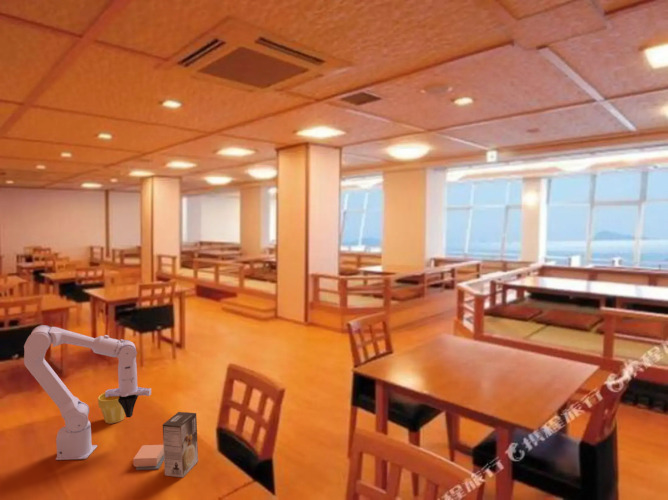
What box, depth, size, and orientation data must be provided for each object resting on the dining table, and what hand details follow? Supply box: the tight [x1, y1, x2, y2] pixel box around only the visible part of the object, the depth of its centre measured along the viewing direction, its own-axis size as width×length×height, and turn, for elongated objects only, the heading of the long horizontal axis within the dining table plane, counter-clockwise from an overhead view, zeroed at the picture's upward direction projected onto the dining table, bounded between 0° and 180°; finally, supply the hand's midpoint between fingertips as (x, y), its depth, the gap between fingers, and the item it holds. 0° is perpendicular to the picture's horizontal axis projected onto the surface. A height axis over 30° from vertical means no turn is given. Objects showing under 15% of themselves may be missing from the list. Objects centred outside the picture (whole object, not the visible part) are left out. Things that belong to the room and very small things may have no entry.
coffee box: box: [162, 411, 199, 478], centre depth 137 cm, size 9×6×16 cm
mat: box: [135, 454, 164, 471], centre depth 142 cm, size 7×10×1 cm
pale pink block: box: [132, 444, 164, 468], centre depth 142 cm, size 3×8×7 cm
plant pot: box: [97, 392, 126, 424], centre depth 170 cm, size 10×10×10 cm
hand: (129, 416), depth 152 cm, fingers closed
